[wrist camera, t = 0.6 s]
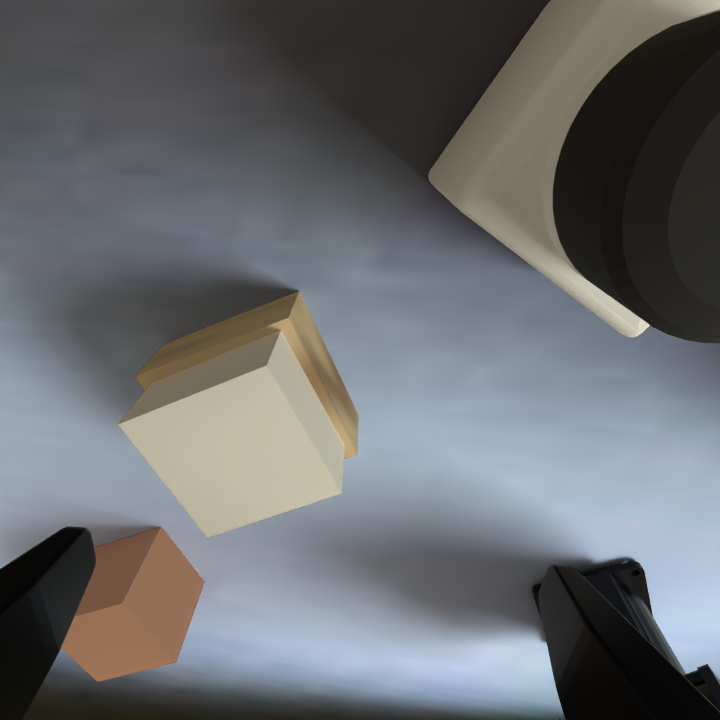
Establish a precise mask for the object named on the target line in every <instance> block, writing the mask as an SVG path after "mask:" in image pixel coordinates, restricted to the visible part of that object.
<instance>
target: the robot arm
mask: <svg viewBox="0 0 720 720" xmlns="http://www.w3.org/2000/svg"><path fill="white" fill-rule="evenodd" d="M95 565H96V555H95V550H94V545H93V541H92V536H91V533H90V531H89V529H87V528H83V527H65V528H63V529H61V530H59V531H58V532H56V533H55V534H53V535H52V536H50V537H49V538H47V539H45V540H44V541H42V542H41V543H39V544H38V545H36V546H35V547H33V548H32V549H30V550H29V551H27V552H26V553H24V554H22V555H21V556H19V557H18V558H16V559H15V560H13V561H12V562H10V563H9V564H7V565H6V566H4V567H3V568H1V569H0V720H23V718H24V716H25V714H26V712H27V711H28V709H29V707H30V705H31V703H32V701H33V700H34V698H35V696H36V694H37V692H38V690H39V689H40V687H41V685H42V683H43V681H44V679H45V677H46V676H47V674H48V672H49V670H50V668H51V666H52V665H53V663H54V661H55V659H56V657H57V655H58V653H59V651H60V649H61V646H62V644H63V642H64V640H65V638H66V635H67V633H68V631H69V628H70V626H71V624H72V621H73V619H74V616H75V614H76V612H77V609H78V607H79V605H80V602H81V600H82V598H83V595H84V593H85V591H86V588H87V586H88V584H89V581H90V579H91V576H92V574H93V572H94V569H95ZM532 593H533V596H534V599H535V602H536V605H537V608H538V611H539V614H540V616H541V619H542V622H543V626H544V631H545V636H546V641H547V646H548V651H549V656H550V661H551V666H552V671H553V676H554V680H555V685H556V689H557V692H558V696H559V700H560V703H561V706H562V710H563V713H564V716H565V719H563V720H720V680H719V679H718V677H717V676H716V675H715V673H714V672H713V671H712V669H711V668H710V667H709V665H708V664H706V665H703V666H701V667H698V668H697V669H698V670H697V671H694V672H691V673H688V674H686V673H685V672H684V670H683V668H682V666H681V665H680V663H679V661H678V659H677V658H676V656H675V654H674V653H673V651H672V649H671V647H670V646H669V644H668V642H667V641H666V639H665V637H664V635H663V634H662V632H661V630H660V629H659V627H658V625H657V623H656V622H655V620H654V618H653V615H652V610H651V604H650V599H649V594H648V588H647V583H646V578H645V572H644V570H643V568H642V566H641V565H640V563H638V562H629V563H625V564H621V565H617V566H612V567H608V568H604V569H600V570H596V571H592V572H588V573H584V574H580V573H579V572H578V571H577V570H576V569H575V568H574V567H572V566H569V565H559V564H552V565H550V566H549V567H548V569H547V572H546V575H545V577H544V580H543V583H542V584H539V585H536V586H534V587H533V589H532ZM557 720H560V719H557Z"/></svg>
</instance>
